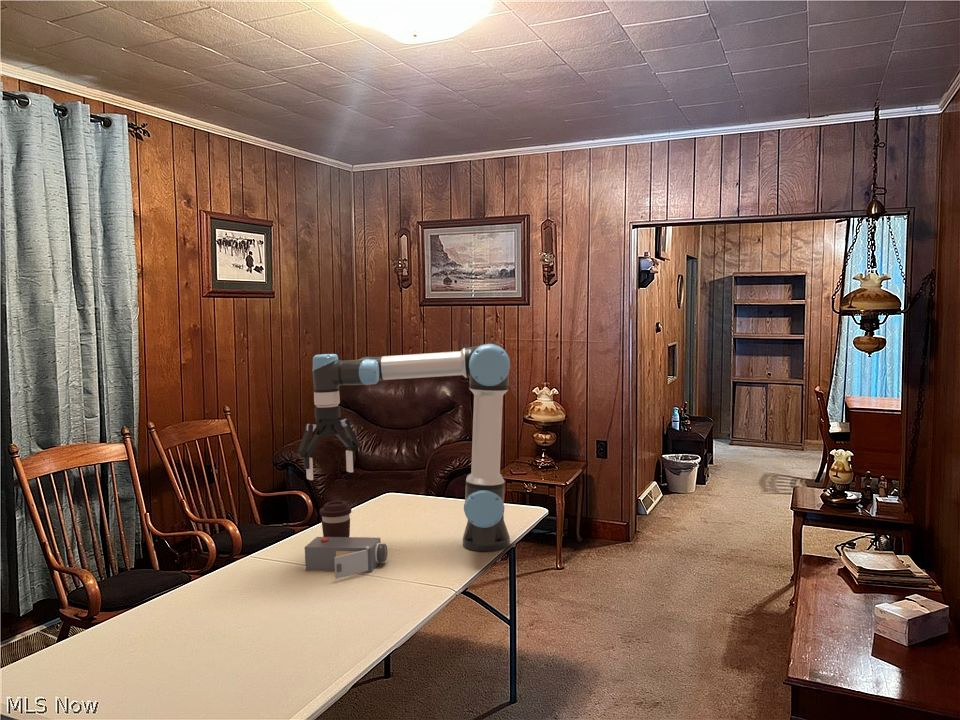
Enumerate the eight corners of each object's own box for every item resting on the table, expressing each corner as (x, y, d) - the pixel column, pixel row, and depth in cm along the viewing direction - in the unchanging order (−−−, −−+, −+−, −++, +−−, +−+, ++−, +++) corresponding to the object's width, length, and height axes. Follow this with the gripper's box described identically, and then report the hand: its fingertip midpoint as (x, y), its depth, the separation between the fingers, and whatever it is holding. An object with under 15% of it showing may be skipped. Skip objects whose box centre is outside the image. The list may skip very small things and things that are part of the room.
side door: (366, 569, 207) (366, 549, 207) (369, 571, 206) (368, 550, 206) (335, 578, 201) (334, 557, 201) (337, 579, 200) (336, 558, 200)
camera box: (388, 560, 217) (387, 535, 217) (378, 573, 206) (377, 546, 206) (317, 559, 221) (316, 534, 220) (304, 571, 210) (303, 545, 209)
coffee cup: (356, 545, 233) (354, 499, 233) (347, 555, 224) (346, 507, 223) (326, 544, 234) (325, 499, 234) (317, 554, 225) (315, 507, 224)
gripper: (356, 400, 226) (359, 467, 228) (282, 409, 210) (286, 480, 211) (369, 402, 221) (372, 470, 222) (294, 411, 204) (298, 484, 206)
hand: (330, 475), depth 217 cm, fingers open, 13 cm apart
